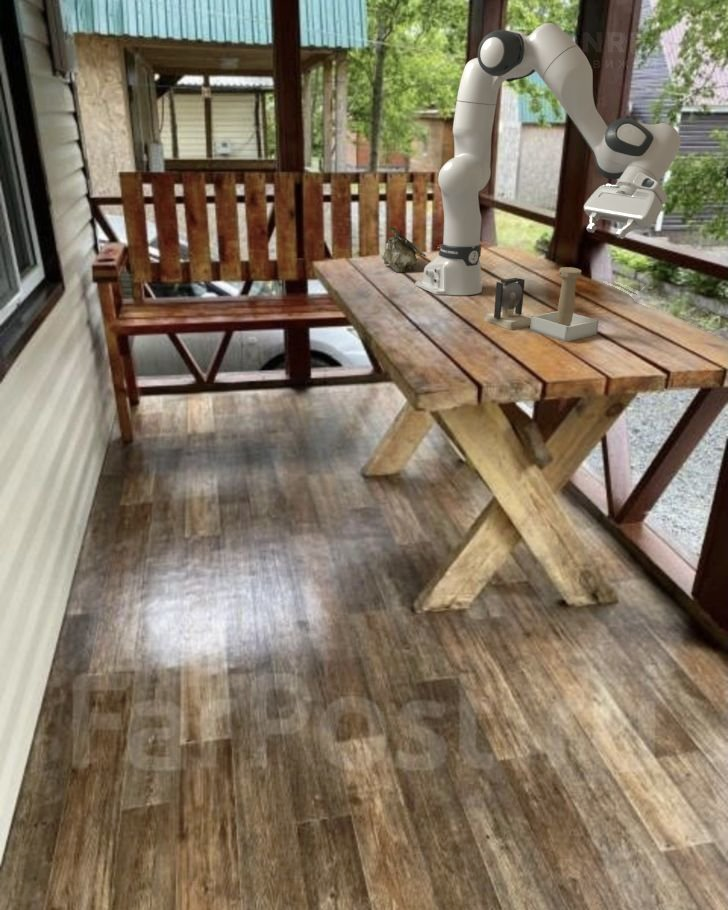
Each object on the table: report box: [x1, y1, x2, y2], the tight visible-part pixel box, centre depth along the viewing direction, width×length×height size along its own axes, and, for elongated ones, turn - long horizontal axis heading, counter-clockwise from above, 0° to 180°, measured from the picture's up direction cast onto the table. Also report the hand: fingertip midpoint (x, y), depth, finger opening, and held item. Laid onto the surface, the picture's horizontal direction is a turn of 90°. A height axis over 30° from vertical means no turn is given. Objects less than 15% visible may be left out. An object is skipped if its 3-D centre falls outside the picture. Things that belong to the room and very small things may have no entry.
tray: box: [529, 310, 599, 342], centre depth 186 cm, size 12×11×4 cm
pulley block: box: [484, 277, 531, 331], centre depth 192 cm, size 10×8×12 cm
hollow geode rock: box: [382, 226, 427, 273], centre depth 262 cm, size 28×13×15 cm
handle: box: [557, 266, 582, 326], centre depth 184 cm, size 5×6×15 cm
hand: (603, 234), depth 185 cm, fingers open, 8 cm apart
